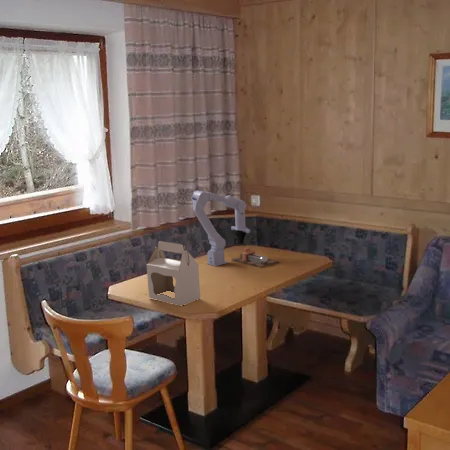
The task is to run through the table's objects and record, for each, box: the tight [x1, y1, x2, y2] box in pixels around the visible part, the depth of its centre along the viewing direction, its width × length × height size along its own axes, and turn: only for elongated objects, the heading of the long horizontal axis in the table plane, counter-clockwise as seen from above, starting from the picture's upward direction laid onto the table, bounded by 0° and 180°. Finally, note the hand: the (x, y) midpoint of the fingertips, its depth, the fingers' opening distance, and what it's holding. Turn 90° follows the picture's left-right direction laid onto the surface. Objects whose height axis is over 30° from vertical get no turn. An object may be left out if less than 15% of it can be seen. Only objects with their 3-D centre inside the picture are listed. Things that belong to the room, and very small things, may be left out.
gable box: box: [146, 240, 201, 305], centre depth 309 cm, size 22×13×28 cm, turn 50°
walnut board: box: [231, 255, 280, 269], centre depth 372 cm, size 25×14×1 cm, turn 40°
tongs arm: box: [248, 253, 263, 257], centre depth 371 cm, size 14×2×3 cm, turn 41°
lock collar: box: [240, 246, 256, 261], centre depth 373 cm, size 3×8×6 cm, turn 130°
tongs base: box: [240, 253, 268, 264], centre depth 369 cm, size 19×4×4 cm, turn 40°
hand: (241, 243), depth 377 cm, fingers closed
